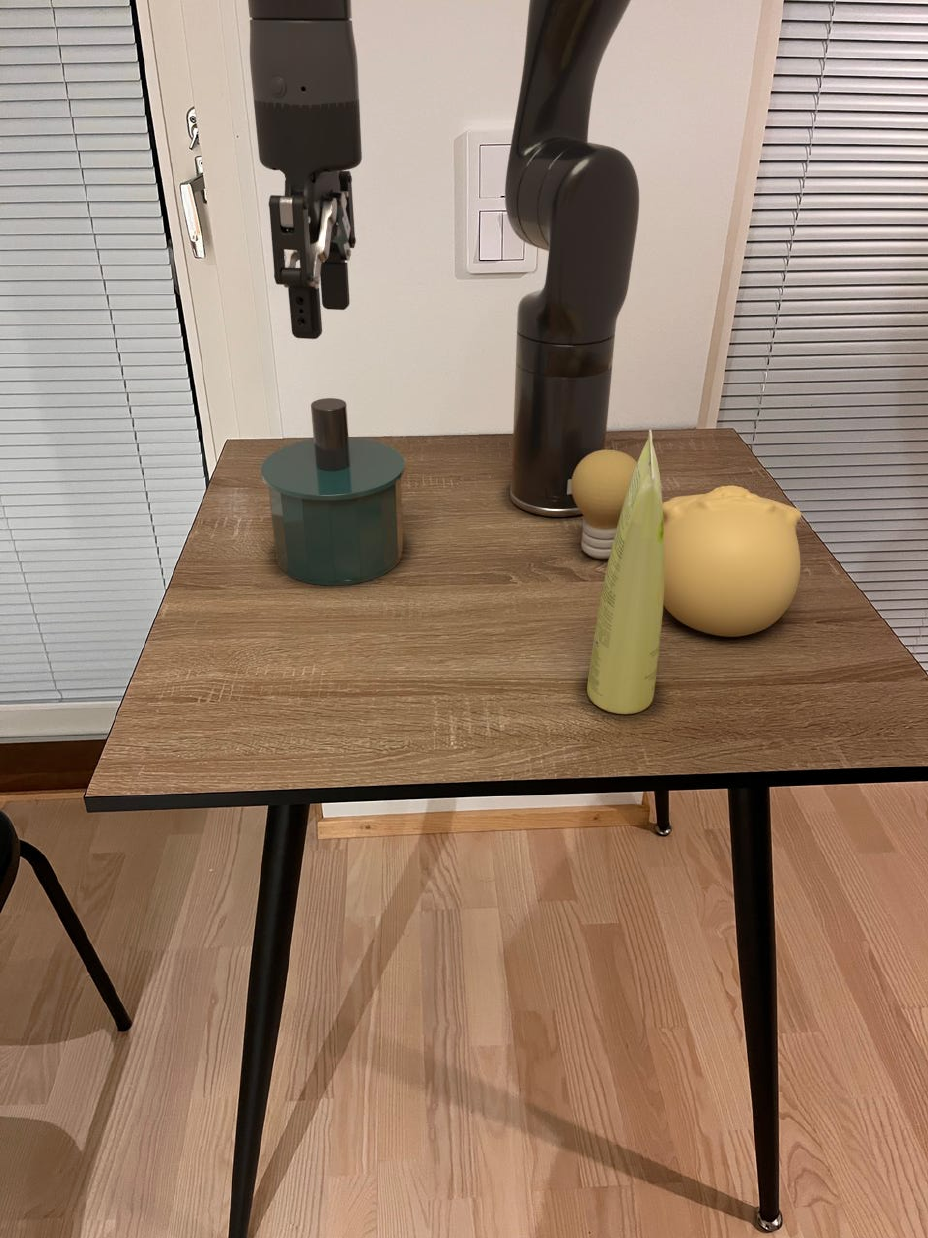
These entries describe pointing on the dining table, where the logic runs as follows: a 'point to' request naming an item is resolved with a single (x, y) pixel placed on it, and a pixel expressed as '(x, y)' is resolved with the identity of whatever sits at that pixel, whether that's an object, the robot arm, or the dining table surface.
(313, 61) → the robot arm
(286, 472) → the pot lid
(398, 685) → the dining table surface
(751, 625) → the sculpture
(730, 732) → the dining table surface
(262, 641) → the dining table surface
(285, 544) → the pot
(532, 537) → the dining table surface
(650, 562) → the tube
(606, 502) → the light bulb
